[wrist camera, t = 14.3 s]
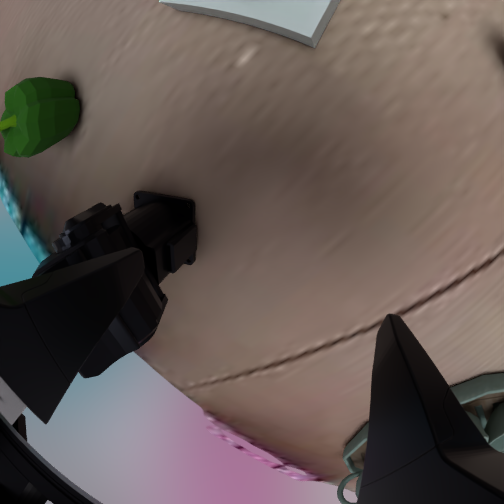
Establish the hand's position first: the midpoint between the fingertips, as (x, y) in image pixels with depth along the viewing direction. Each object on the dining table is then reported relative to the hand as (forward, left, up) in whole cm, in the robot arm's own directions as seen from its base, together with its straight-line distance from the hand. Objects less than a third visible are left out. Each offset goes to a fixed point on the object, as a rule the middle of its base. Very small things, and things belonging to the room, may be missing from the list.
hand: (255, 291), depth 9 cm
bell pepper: (-26, +6, -13) cm, 30 cm away
